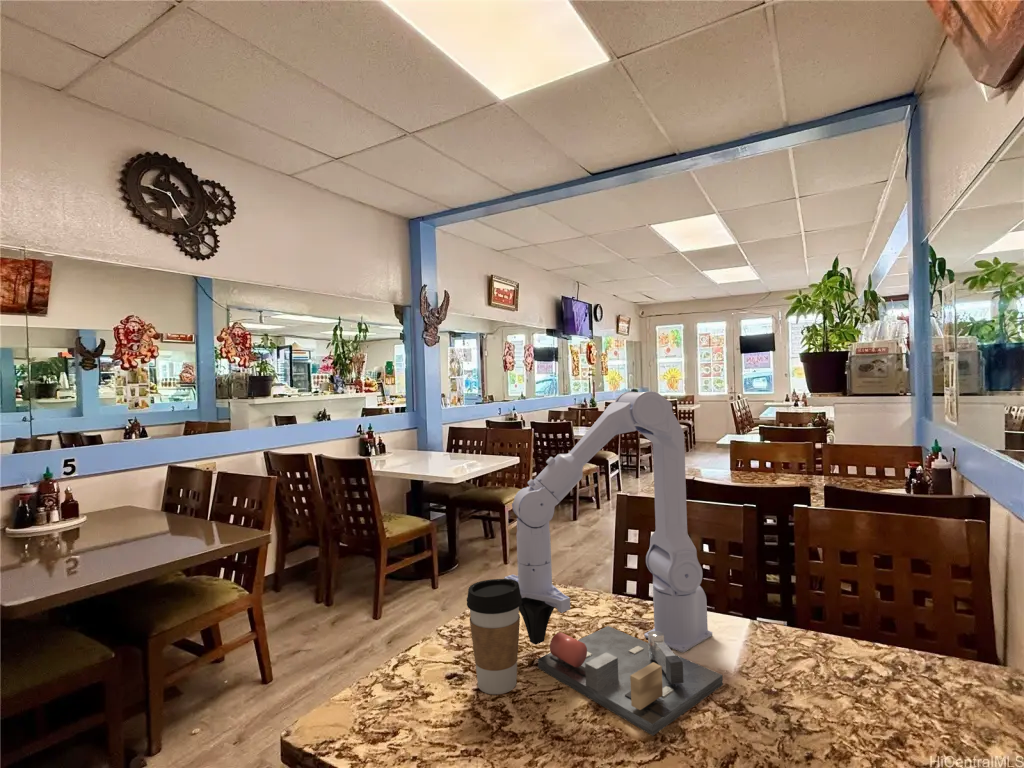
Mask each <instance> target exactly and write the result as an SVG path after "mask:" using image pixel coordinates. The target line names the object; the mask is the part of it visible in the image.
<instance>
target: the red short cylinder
mask: <svg viewBox="0 0 1024 768" xmlns="http://www.w3.org/2000/svg"><path fill="white" fill-rule="evenodd" d="M578 640H579V639H577V638H574V637H572V636H570V635H567V634H565V633H564V632H562V631H561V632H557V633H555V634H554V635H553V636H552V638H551V641H550V643H549V651H550V652H549V653H551V654H552V655H554V656H555V657H557V658H559V659H561V660H563V661H565V662H566V663H568V664H570V665H572V666H574V667H580V666H581V665H582V664H583V663H584V661H585V659H586V656H587V647H586V645H585V644H584V643H582V642H580V641H578Z"/></svg>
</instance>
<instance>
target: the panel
mask: <svg viewBox="0 0 1024 768" xmlns="http://www.w3.org/2000/svg"><path fill="white" fill-rule="evenodd" d="M577 640H578V641H580V642H582V643H584V644H585V645H586V647H587V656H586V659H585V661H584V663H583V664H582V665H581V666H580V667H574V666H572V665H570V664H568V663H566V662H565V661H563V660H561V659H559V658H557V657H555V656H554V655H552V654H551V652H549V653H547V654H545V655H543V656H541V657H539V658H537V668H538V669H539V670H540V671H542V672H544V673H545V674H547V675H549V676H550V677H552V678H554V679H555V680H558V681H559V682H560V683H562V684H565V685H566V686H567V687H569V688H571V689H573V690H574V691H576V692H578V693H579V694H581V695H583V696H585V697H586V698H587V699H590V700H591V701H593V702H595V703H596V704H598V705H600V706H602V707H603V708H605V709H607V710H608V711H610V712H612V713H613V714H615V715H617V716H619V717H620V718H622V719H624V720H626V721H627V722H628V723H630V724H632V725H634V726H635V727H637V728H639V729H640V730H642V731H644V732H645V733H647V734H648V735H650V736H655V735H656V734H658V733H659V732H661V731H662V730H663V729H664V728H666V727H667V726H669V725H670V724H672V723H673V722H675V720H677V719H678V718H680V717H681V716H682V715H684V714H685V713H687V711H689V710H691V709H692V708H693V707H695V706H696V705H698V704H699V703H701V702H702V701H703V700H704V699H706V698H707V697H708V696H710V695H711V694H713V693H715V691H717V690H719V688H721V687H722V686H724V681H723V680H724V677H723V674H722V673H720V672H717V671H715V670H712V669H709V668H708V667H705V666H702V665H700V664H698V663H696V662H694V661H691V660H689V659H686V658H684V657H682V656H679V655H678V657H679V658H680V659H681V660H682V661H683V682H684V683H676V684H671V683H670V681H669V680H668V679H667V677H666V673H665V672H664V671H663V669H662V689H663V696H661V697H659V698H658V699H656V700H655V701H653V702H652V703H650V704H649V705H647V706H646V707H644V708H643V709H641V710H639V709H637V708H635V707H633V706H631V679H630V675H632V674H634V673H635V672H637V671H639V670H641V669H642V668H644V667H646V666H648V665H649V664H651V663H653V662H654V663H656V664H658V663H657V661H655V660H652V659H650V658H649V643H648V641H644V640H642V639H640V638H638V637H635V636H633V635H630V634H628V633H625V632H624V631H621V630H620V629H616V628H614V627H612V626H609V625H607V626H604V627H603V628H601V629H599V630H596V631H594V632H592V633H590V634H588V635H586V636H584V637H582V638H579V639H577ZM658 665H659V664H658Z"/></svg>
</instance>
